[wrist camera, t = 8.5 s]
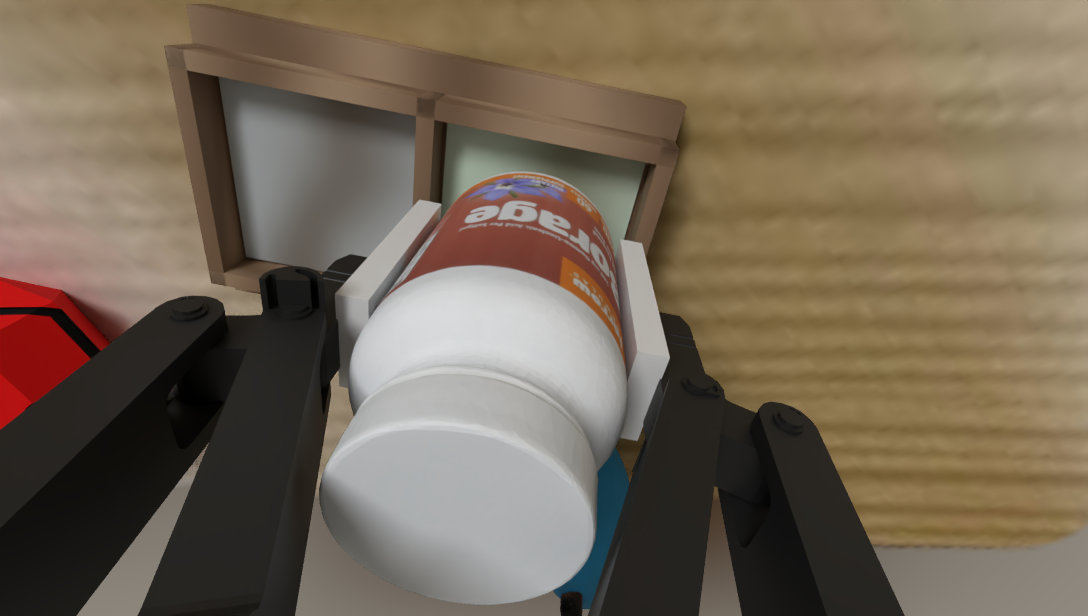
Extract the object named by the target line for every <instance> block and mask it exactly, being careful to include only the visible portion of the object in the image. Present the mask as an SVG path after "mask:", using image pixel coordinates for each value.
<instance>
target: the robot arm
mask: <svg viewBox="0 0 1088 616" xmlns="http://www.w3.org/2000/svg"><path fill="white" fill-rule="evenodd" d="M441 205H442V204H439V203H434V202H429V201H424V200H419V201H418V202H417V203H416V204H415V205H414V206H413V207H412V208H411V210H410V211H409V212H408V213H407V214H406V215H405V216H404V217H403V219H402V220H401V221H400V222H399V223H398V224H397V225H396V226H395V227H394V229H393V230H392V231H391V232H390V233H389V234H388V235H387V236H386V238H385V239H384V240H383V241H382V242H381V243H380V244H379V245H378V246H377V248H376V249H375V250H374V251H373V252H372V253H371V254H370V255H369V256H368V257H363V256H358V255H353V254H349V255H347V256H345V257H342V258H340V259H338V260H336V261H334V262H333V263H332V264H331V265H330V266H329V267H328V268H327V271H324V272H323V273H322V274H320V273H319V272H318V271H316V270H313V269H311V268H307V267H300V266H288V267H281V268H276V269H272V270H270V271H268V272H266V273H264V274H263V275H262V276H261V277H260V278H259V285H260V292H261V299H262V306H263V312H262V314H261V315H252V316H225V310H224V306H223V303H221V302H220V301H218V300H217V299H214V298H210V297H207V296H188V297H187V296H185V297H180V298H177V299H174V300H170V301H167V302H165V303H163V304H162V305H160V306H158V307H156V308H155V309H154V310H153V311H151V312H150V313H149V314H148V315H146V316H145V317H144V318H142V319H141V320H140V321H139V322H137V323H136V324H135V325H133V326H132V327H131V328H130V329H128V330H127V331H126V332H124V333H123V334H122V335H121V336H119V337H118V338H117V339H116V340H114V341H113V342H112V343H110V344H109V345H108V346H107V347H105V348H104V349H103V350H101V351H100V352H99V353H98V354H96V355H95V356H94V357H93V358H91V359H90V360H89V361H87V362H86V363H85V364H84V365H82V366H81V367H80V368H78V369H77V370H76V371H75V372H73V373H72V374H71V375H69V376H68V377H67V378H66V379H64V380H63V381H62V382H61V383H59V384H58V385H57V386H55V387H54V388H53V389H52V390H50V391H49V392H48V393H46V394H45V395H44V396H43V397H41V398H40V399H39V400H37V401H36V402H35V403H34V404H32V405H31V406H30V407H29V408H27V409H26V410H25V411H23V412H22V413H21V414H20V415H18V416H17V417H16V418H14V419H13V420H12V421H11V422H9V423H8V424H7V425H5V426H4V427H3V428H2V429H0V616H76V615H77V614H78V613H79V611H80V610H81V609H82V607H83V606H84V605H85V604H86V602H87V601H88V599H89V598H90V597H91V596H92V594H93V593H94V592H95V590H96V589H97V588H98V586H99V585H100V584H101V583H102V581H103V580H104V579H105V577H106V576H107V575H108V574H109V572H110V571H111V569H112V568H113V567H114V566H115V564H116V563H117V562H118V560H119V559H120V558H121V557H122V555H123V554H124V552H125V551H126V550H127V549H128V547H129V546H130V545H131V543H132V542H133V541H134V540H135V538H136V537H137V536H138V534H139V533H140V532H141V530H142V529H143V528H144V526H145V525H146V524H147V523H148V521H149V520H150V519H151V517H152V516H153V514H154V513H155V512H156V511H157V509H158V508H159V507H160V505H161V504H162V503H163V502H164V500H165V499H166V498H167V496H168V495H169V494H170V492H171V491H172V490H173V489H174V487H175V486H176V485H177V483H178V482H179V481H180V479H181V478H182V477H183V475H184V474H185V473H186V472H187V470H188V469H189V468H190V466H191V465H192V464H193V462H194V461H195V460H196V458H197V457H198V456H199V455H200V453H201V452H202V451H203V449H204V448H205V447H206V445H207V444H208V443H209V444H208V446H207V449H206V451H205V454H204V456H203V459H202V461H201V463H200V466H199V468H198V471H197V473H196V476H195V478H194V481H193V483H192V486H191V488H190V490H189V493H188V496H187V498H186V500H185V503H184V505H183V508H182V510H181V512H180V515H179V517H178V520H177V522H176V525H175V527H174V530H173V532H172V534H171V537H170V539H169V542H168V544H167V547H166V549H165V552H164V554H163V556H162V559H161V561H160V564H159V566H158V569H157V571H156V574H155V576H154V579H153V581H152V583H151V586H150V588H149V591H148V593H147V596H146V598H145V600H144V603H143V605H142V608H141V610H140V612H139V614H138V616H295V612H296V605H297V599H298V593H299V587H300V581H301V575H302V569H303V563H304V557H305V550H306V545H307V539H308V533H309V526H310V520H311V514H312V508H313V502H314V496H315V490H316V484H317V478H318V472H319V466H320V459H321V453H322V447H323V441H324V435H325V429H326V423H327V417H328V411H329V405H330V399H331V385H330V381H331V380H332V378H333V377H334V375H335V374H336V372H337V371H338V370H339V386H341V387H346V388H348V372H349V365H350V360H351V356H352V353H353V349H354V346H355V344H356V342H357V339H358V337H359V335H360V333H361V332H362V330H363V328H364V327H365V325H366V323H367V322H368V320H369V319H370V317H371V315H372V314H373V313H374V311H375V310H376V308H377V307H378V306H379V304H380V303H381V301H382V300H383V298H384V297H385V296H386V295H387V293H388V292H389V291H390V289H391V288H392V287H393V285H394V284H395V283H396V281H397V280H398V278H399V277H400V276H401V274H402V273H403V272H404V270H405V269H406V267H407V266H408V264H409V263H410V262H411V260H412V259H413V258H414V256H415V255H416V254H417V252H418V251H419V249H420V248H421V247H422V245H423V244H424V242H425V241H426V240H427V238H428V237H429V236H430V234H431V233H432V232H433V230H434V229H435V227H436V226H437V225H438V223H439V222H440V219H441ZM615 266H616V278H617V287H618V300H619V309H620V319H621V328H622V337H623V346H624V355H625V365H626V376H627V397H628V398H627V412H626V418H625V423H624V427H623V431H622V434H621V436H620V438H623V439H629V440H634V441H638V438H639V436H640V433H641V430H642V428H643V425H644V432H645V440H644V443H643V445H642V448H641V450H640V453H639V455H638V458H637V460H636V463H635V465H634V468H633V470H632V472H633V475H632V478H631V482H630V485H629V488H628V491H627V494H626V497H625V500H624V504H623V507H622V510H621V513H620V516H619V519H618V522H617V526H616V529H615V532H614V535H613V538H612V541H611V545H610V548H609V551H608V554H607V557H606V560H605V563H604V567H603V570H602V573H601V576H600V579H599V582H598V586H597V589H596V592H595V595H594V598H593V601H592V604H591V608H590V611H589V614H588V616H698V615H699V607H700V598H701V591H702V582H703V574H704V565H705V557H706V549H707V541H708V532H709V524H710V516H711V508H712V500H713V491H714V486H716V487H718V493H719V498H720V503H721V509H722V514H723V519H724V524H725V529H726V535H727V539H728V544H729V550H730V555H731V561H732V566H733V571H734V576H735V581H736V586H737V592H738V596H739V602H740V607H741V612H742V616H904V613H903V611H902V609H901V607H900V605H899V603H898V601H897V598H896V596H895V594H894V592H893V590H892V588H891V586H890V583H889V581H888V579H887V577H886V575H885V573H884V571H883V568H882V566H881V564H880V562H879V560H878V558H877V556H876V553H875V551H874V549H873V547H872V545H871V543H870V541H869V538H868V536H867V534H866V532H865V530H864V528H863V526H862V523H861V521H860V519H859V517H858V515H857V513H856V511H855V508H854V506H853V504H852V502H851V500H850V498H849V496H848V493H847V491H846V489H845V487H844V485H843V483H842V481H841V478H840V476H839V474H838V472H837V470H836V468H835V466H834V463H833V461H832V459H831V457H830V455H829V453H828V451H827V448H826V446H825V444H824V442H823V440H822V438H821V436H820V433H819V431H818V429H817V428H816V426H815V425H814V423H813V422H812V421H811V420H810V419H809V418H808V417H807V416H806V415H804V414H803V413H802V412H800V411H799V410H796V409H795V408H793V407H791V406H788V405H785V404H782V403H776V402H768V403H764V404H763V405H762V406H761V407H760V408H759V410H758V412H757V413H755V412H753V411H750V410H748V409H745V408H743V407H740V406H738V405H735V404H733V403H731V402H729V401H727V400H726V399H725V395H724V390H723V388H722V387H721V386H720V384H719V383H718V382H717V381H716V380H714V379H713V378H712V377H710V376H709V375H707V374H705V372H704V369H703V366H702V363H701V360H700V357H699V354H698V351H697V348H696V345H695V341H694V340H693V335H692V332H691V329H690V327H689V326H688V325H687V323H686V322H685V321H684V320H683V319H682V318H681V317H680V316H676V315H671V314H666V313H661V312H659V311H658V307H657V303H656V298H655V294H654V290H653V286H652V282H651V278H650V274H649V270H648V266H647V262H646V258H645V253H644V249H643V245H642V243H638V242H633V241H628V240H623V239H620V242H619V246H618V249H617V253H616V256H615Z"/></svg>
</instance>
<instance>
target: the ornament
mask: <svg viewBox="0 0 1088 616" xmlns="http://www.w3.org/2000/svg"><path fill="white" fill-rule="evenodd" d="M597 474H598V490H597V531H596V539H595V542H594V546H593V549H592V552H591V554H590V556H589V558H588V560H587V561H586V563H585V564H584V566H583V567H582V568H581V569H580V571H579V572H578V573H577V574H576V575H575V576H574V577H573V578H572V579H571V580H569V581H568V582H566V583H565V584H563V585H562V586H560V587H558V588H556V589H554V590H553V591H554V593H555V594H556V595H557V596H558V597H559V598H560V599H561V606H560V612H561V616H582V609H590V608H591V604H592V601H593V598H594V595H595V592H596V589H597V586H598V582H599V579H600V576H601V573H602V570H603V567H604V563H605V560H606V557H607V554H608V551H609V548H610V545H611V541H612V538H613V535H614V532H615V529H616V526H617V522H618V519H619V516H620V513H621V510H622V507H623V504H624V500H625V497H626V494H627V491H628V488H629V485H630V484H629V479H628V475H627V473H626V470H625V467H624V465H623V462H622V460H621V458H620V455H619V453H618V451H617V449H616V447H615V449H614V450H613V452H612V454H611V455H610V457H609V459H608V460H607V461H606V462H605V463H604V464H603V466H602V467H601V468H600V469H599V470H598V471H597Z"/></svg>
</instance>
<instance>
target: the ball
mask: <svg viewBox="0 0 1088 616" xmlns="http://www.w3.org/2000/svg"><path fill="white" fill-rule="evenodd" d="M109 344H110V342H109V341H108V340H107V339H106V338H105V337H104V336H103V335H102V334H101V333H100V331H99V330H98V329H97V328H96V327H95V326H94V325H93V324H92V323H91V322H90V321H89V320H88V318H87V317H86V316H85V315H84V314H83V313H82V312H81V311H80V310H79V309H78V308H77V306H76V305H75V304H74V303H73V302H72V301H71V300H70V299H69V298H68V297H67V296H66V295H65V293H64V292H63V291H62V290H58V289H53V288H49V287H44V286H39V285H35V284H30V283H25V282H21V281H16V280H11V279H7V278H2V277H0V429H2V428H3V427H4V426H5V425H7V424H8V423H9V422H11V421H12V420H13V419H14V418H16V417H17V416H18V415H20V414H21V413H22V412H23V411H25V410H26V409H27V408H29V407H30V406H31V405H32V404H34V403H35V402H36V401H37V400H39V399H40V398H41V397H43V396H44V395H45V394H46V393H48V392H49V391H50V390H52V389H53V388H54V387H55V386H57V385H58V384H59V383H61V382H62V381H63V380H64V379H66V378H67V377H68V376H69V375H71V374H72V373H73V372H75V371H76V370H77V369H78V368H80V367H81V366H82V365H84V364H85V363H86V362H87V361H89V360H90V359H91V358H93V357H94V356H95V355H96V354H98V353H99V352H100V351H101V350H103V349H104V348H105V347H107V346H108V345H109Z"/></svg>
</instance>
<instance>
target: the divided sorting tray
mask: <svg viewBox="0 0 1088 616" xmlns="http://www.w3.org/2000/svg"><path fill="white" fill-rule="evenodd" d="M187 10H188V16H189V22H190V28H191V33H192V39H193V44H181V45H168V46H164V48H165V53H166V58H167V63H168V68H169V73H170V78H171V83H172V88H173V93H174V98H175V103H176V108H177V113H178V118H179V123H180V128H181V133H182V138H183V143H184V148H185V153H186V158H187V163H188V168H189V173H190V178H191V183H192V188H193V193H194V198H195V203H196V208H197V213H198V218H199V223H200V228H201V233H202V238H203V243H204V248H205V253H206V258H207V263H208V268H209V273H210V278H211V283H213V284H219V285H224V286H229V287H234V288H235V289H237V290H242V291H247V292H253V293H258V294H261V292H260V285H259V278H260V277H261V276H262V275H263V274H264V273H266V272H268V271H270V270H272V269H276V268H281V267H288V266H300V267H307V268H311V269H313V270H316V271H318V272H319V273H320V274H322V273H323V272H324V271H327V268H328V267H329V266H330V265H331V264H332V263H333V262H334V261H336V260H338V259H340V258H342V257H345V256H347V255H349V254H353V255H358V256H363V257H368V256H369V255H370V254H371V253H372V252H373V251H374V250H375V249H376V248H377V246H378V245H379V244H380V243H381V242H382V241H383V240H384V239H385V238H386V236H387V235H388V234H389V233H390V232H391V231H392V230H393V229H394V227H395V226H396V225H397V224H398V223H399V222H400V221H401V220H402V219H403V217H404V216H405V215H406V214H407V213H408V212H409V211H410V210H411V208H412V207H413V206H414V205H415V204H416V203H417V202H418V201H419V200H424V201H429V202H434V203H439V204H442V205H441V219H442V218H443V216H444V215H445V214H446V212H447V211H448V209H449V208H450V207H451V206H452V204H453V203H454V202H455V201H456V200H457V199H458V198H459V197H460V196H461V195H462V194H463V193H464V192H465V191H466V190H467V189H469V188H470V187H472V186H473V185H475V184H476V183H478V182H480V181H482V180H484V179H486V178H488V177H491V176H494V175H498V174H502V173H507V172H536V173H543V174H546V175H550V176H553V177H556V178H559V179H561V180H563V181H565V182H567V183H569V184H571V185H572V186H574V187H575V188H577V189H578V190H580V191H581V192H582V193H583V194H585V195H586V196H587V197H588V198H589V199H590V200H591V201H592V202H593V204H594V205H595V206H596V207H597V209H598V210H599V211H600V213H601V215H602V216H603V218H604V220H605V222H606V224H607V226H608V229H609V232H610V235H611V238H612V243H613V248H614V256H616V253H617V249H618V246H619V242H620V239H623V240H628V241H633V242H638V243H642V245H643V249H644V253H645V258H646V256H647V253H648V250H649V247H650V244H651V241H652V237H653V234H654V231H655V228H656V225H657V222H658V219H659V215H660V212H661V209H662V206H663V203H664V200H665V196H666V193H667V190H668V187H669V184H670V181H671V178H672V174H673V171H674V168H675V165H676V162H677V159H678V155H679V152H680V149H679V148H678V146H677V145H676V144H675V142H676V139H677V136H678V132H679V129H680V126H681V123H682V119H683V116H684V113H685V110H686V106H685V105H684V104H683V103H682V102H681V101H677V100H672V99H667V98H662V97H658V96H653V95H648V94H643V93H638V92H633V91H628V90H624V89H619V88H614V87H609V86H604V85H599V84H594V83H589V82H585V81H580V80H575V79H570V78H565V77H560V76H555V75H551V74H546V73H541V72H536V71H531V70H526V69H521V68H516V67H512V66H507V65H502V64H497V63H492V62H487V61H482V60H478V59H473V58H468V57H463V56H458V55H453V54H448V53H443V52H439V51H434V50H429V49H424V48H419V47H414V46H409V45H405V44H400V43H395V42H390V41H385V40H380V39H375V38H370V37H366V36H361V35H356V34H351V33H346V32H341V31H336V30H332V29H327V28H322V27H317V26H312V25H307V24H302V23H297V22H293V21H288V20H283V19H278V18H273V17H268V16H263V15H259V14H254V13H249V12H244V11H239V10H234V9H229V8H224V7H220V6H215V5H208V4H187ZM441 219H440V220H441Z"/></svg>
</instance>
